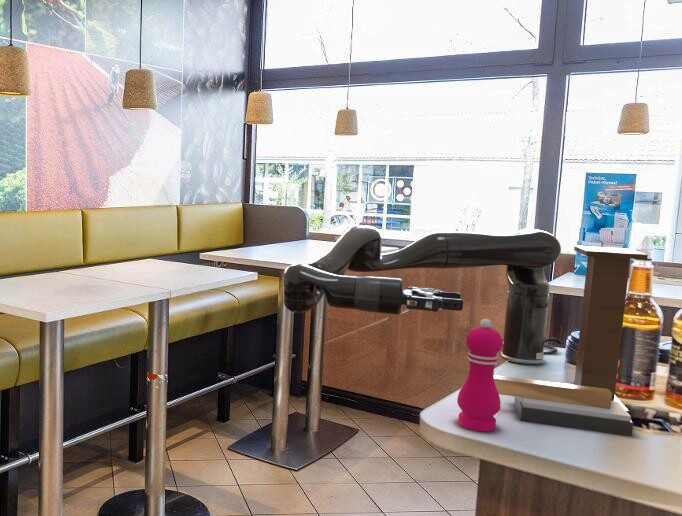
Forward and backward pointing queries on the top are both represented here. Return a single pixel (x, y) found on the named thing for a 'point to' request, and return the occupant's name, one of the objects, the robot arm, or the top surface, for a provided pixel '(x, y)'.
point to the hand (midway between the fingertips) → (461, 301)
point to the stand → (603, 316)
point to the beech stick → (553, 391)
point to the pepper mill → (480, 380)
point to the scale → (575, 415)
